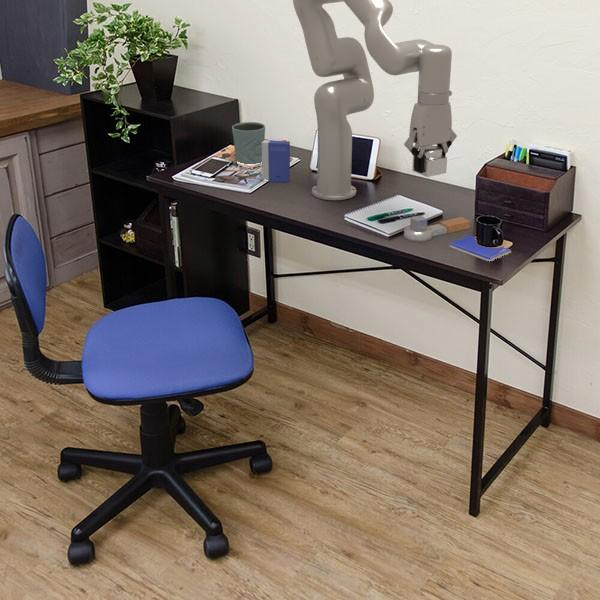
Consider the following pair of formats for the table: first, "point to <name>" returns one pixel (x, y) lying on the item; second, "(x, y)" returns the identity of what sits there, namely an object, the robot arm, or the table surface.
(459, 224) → the ratchet
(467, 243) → the blue flat block
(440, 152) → the frosted rounded block
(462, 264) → the table surface
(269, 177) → the walkman
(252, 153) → the green tapered cup
